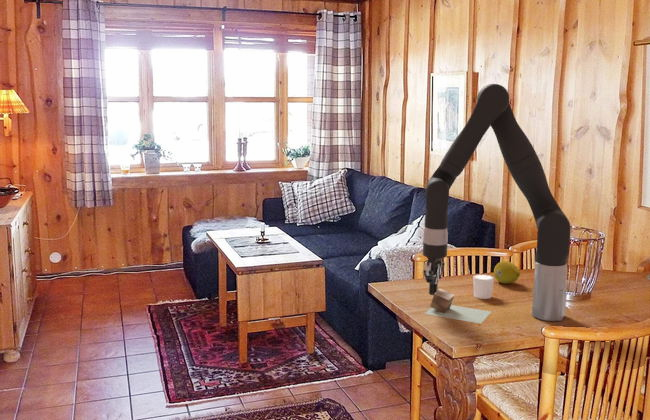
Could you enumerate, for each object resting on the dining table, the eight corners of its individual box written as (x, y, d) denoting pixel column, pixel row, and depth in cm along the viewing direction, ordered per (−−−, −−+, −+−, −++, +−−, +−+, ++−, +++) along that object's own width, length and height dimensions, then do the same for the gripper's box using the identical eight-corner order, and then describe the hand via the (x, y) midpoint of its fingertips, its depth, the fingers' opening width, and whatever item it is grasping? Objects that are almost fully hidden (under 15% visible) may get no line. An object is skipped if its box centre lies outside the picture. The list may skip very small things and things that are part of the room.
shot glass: (493, 300, 224) (494, 280, 222) (472, 299, 225) (473, 279, 224) (492, 294, 230) (493, 274, 229) (472, 293, 232) (472, 273, 230)
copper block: (449, 308, 215) (454, 294, 214) (444, 313, 211) (449, 299, 209) (435, 302, 217) (440, 288, 216) (430, 306, 213) (434, 292, 211)
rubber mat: (491, 312, 212) (491, 311, 212) (480, 324, 202) (480, 323, 202) (437, 303, 221) (437, 302, 221) (423, 314, 211) (423, 313, 210)
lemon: (488, 280, 246) (489, 259, 245) (507, 278, 249) (508, 257, 247) (505, 288, 236) (506, 266, 235) (524, 286, 238) (525, 264, 237)
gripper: (439, 247, 204) (437, 302, 207) (453, 238, 215) (451, 290, 218) (416, 244, 207) (414, 298, 211) (431, 235, 218) (429, 287, 222)
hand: (433, 294), depth 214 cm, fingers closed
